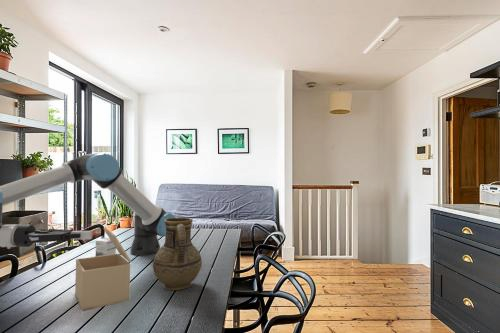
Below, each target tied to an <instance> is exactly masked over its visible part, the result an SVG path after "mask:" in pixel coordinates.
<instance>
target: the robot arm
mask: <svg viewBox="0 0 500 333" xmlns="http://www.w3.org/2000/svg"><path fill="white" fill-rule="evenodd" d="M123 173H124V172H123V169H122V168H121V167H120V164H119V161H118V160H117V158H116V157H115V156H113V155H112V154H109V153H106V152H97V153H86V154H83V155H81V156H78V157H76V158H73V159H70V160H68V161H65V162H63V163H62V164H61V166H60V165H59V166H58V167H54V168H52V169H49V170H45V171H43V172H39V173H35V174H33V175H30V176H27V177H23V178H21V179H17V180H14V181H12V182H9V183H6V184H2V185H0V248H7V249H8V250H9V249H11V248H15V247H17V248H29V247H31V246H32V245H33V244H35V243H49V242H51V243H52V242H66V241H67V243H70V242H71V240H92V239H93V230H74V228H71V229H60V228H59V229H57V228H56V229H55V228H48V229H45V228H38V229H36V227H35V225H33V224H14V223H13V224H3V223H2V222H3V207H4V206H7V205H10V204H12V203H16V202H19V201H21V200H24V199H27V198H29V197H32V196H34V195H37V194H40V193H43V192H45V191H47V190H51V189H53V188H57V187H59V186H61V185H65V184H68V183H70V184H74V183H76V182H81V181H92V182H94V183H95V185H97V186H99V187H100V188H101V189H105V190H106V189H108V190H109V191H110V192H111V193H112V194H113V195H114V196H116V197H117V198H118V200H120V201H121V202H122V203H124V204H125V205H126V207H127V208H129V209H130V210H131V211H132V212H134V215H133V218H134V220H133V221H134V223H133V224H134V227H133V228H134V233H133V234H134V235H133V241H132V243H131V246H130V250H129V251H130V254H131V255H136V256H149V255H154V254H155V255H156V254H157V252H158V251H159V250H160V248H161V244H160V241H159V238H158V236H159V237H161V238H162V237H164V238H165V235H166V227H165V222H164V220H165V219H169V218H177V217H176V216H175V215H174V214H173V213H171V212H167V211H166V210H165V209H163V207H161V205H155V204H154V203H153V202H152V201H151V200H150V199H148V197H146V195H145V194H143V193H142V192H141V190H139V189H138V188H137V187H136V185H134V184H133V183H132V182H131V181H130V180H129V179H128V178H127V177H126V176H124V175H123Z"/></svg>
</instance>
